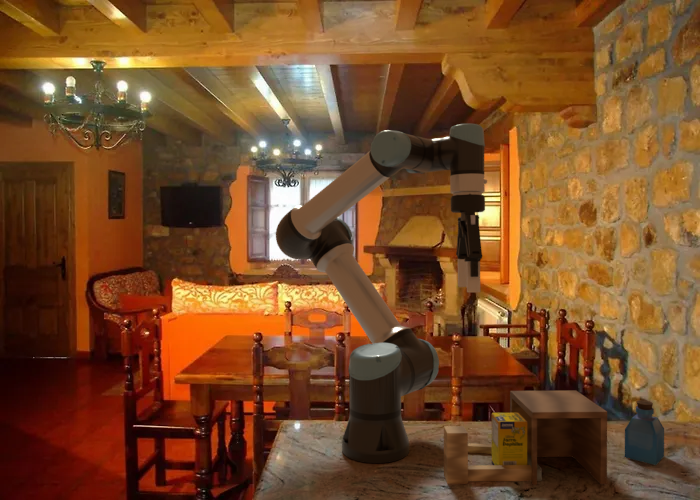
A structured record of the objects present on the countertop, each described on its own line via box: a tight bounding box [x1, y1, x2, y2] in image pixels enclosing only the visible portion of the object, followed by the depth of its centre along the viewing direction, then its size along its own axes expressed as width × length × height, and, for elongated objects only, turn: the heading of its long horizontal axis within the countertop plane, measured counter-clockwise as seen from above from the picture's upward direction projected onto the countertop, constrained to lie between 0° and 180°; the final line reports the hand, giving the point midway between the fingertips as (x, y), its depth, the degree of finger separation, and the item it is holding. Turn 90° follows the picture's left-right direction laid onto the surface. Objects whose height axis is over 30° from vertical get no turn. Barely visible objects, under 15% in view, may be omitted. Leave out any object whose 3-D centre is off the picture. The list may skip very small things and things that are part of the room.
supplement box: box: [491, 412, 527, 465], centre depth 116 cm, size 6×6×11 cm
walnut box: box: [509, 389, 608, 486], centre depth 116 cm, size 14×15×14 cm
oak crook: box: [443, 425, 543, 485], centre depth 115 cm, size 19×12×10 cm, turn 90°
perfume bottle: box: [624, 399, 665, 466], centre depth 122 cm, size 6×6×12 cm
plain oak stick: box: [468, 442, 492, 455], centre depth 125 cm, size 12×2×2 cm, turn 81°
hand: (468, 289), depth 126 cm, fingers open, 13 cm apart
